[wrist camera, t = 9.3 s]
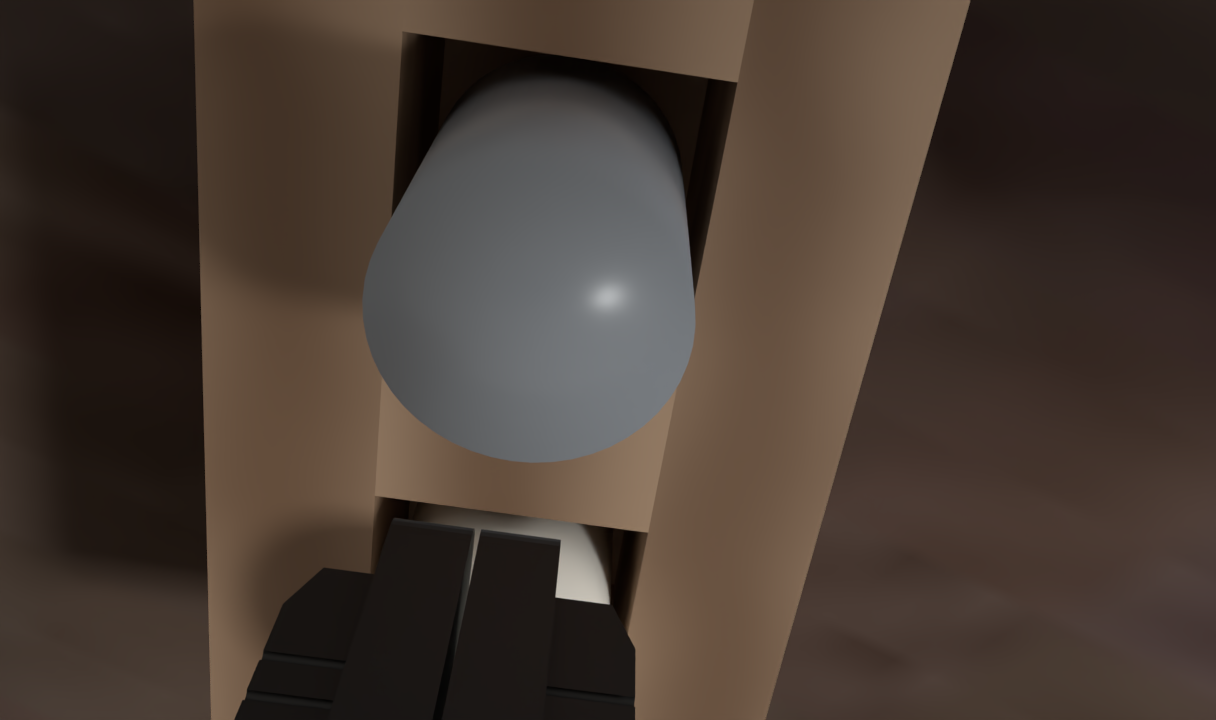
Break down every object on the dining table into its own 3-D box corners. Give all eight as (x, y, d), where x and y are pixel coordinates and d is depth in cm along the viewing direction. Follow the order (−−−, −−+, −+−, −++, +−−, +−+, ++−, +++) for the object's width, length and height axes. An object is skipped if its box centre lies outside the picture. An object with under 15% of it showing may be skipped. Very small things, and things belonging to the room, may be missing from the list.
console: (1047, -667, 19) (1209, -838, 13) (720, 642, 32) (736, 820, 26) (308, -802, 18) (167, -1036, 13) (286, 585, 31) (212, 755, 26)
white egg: (626, 458, 26) (622, 641, 20) (598, 616, 28) (587, 819, 22) (422, 429, 25) (363, 607, 20) (409, 591, 27) (352, 790, 22)
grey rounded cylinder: (703, 76, 20) (725, 189, 15) (660, 309, 22) (665, 482, 17) (443, 36, 20) (370, 136, 15) (424, 276, 22) (355, 439, 17)
